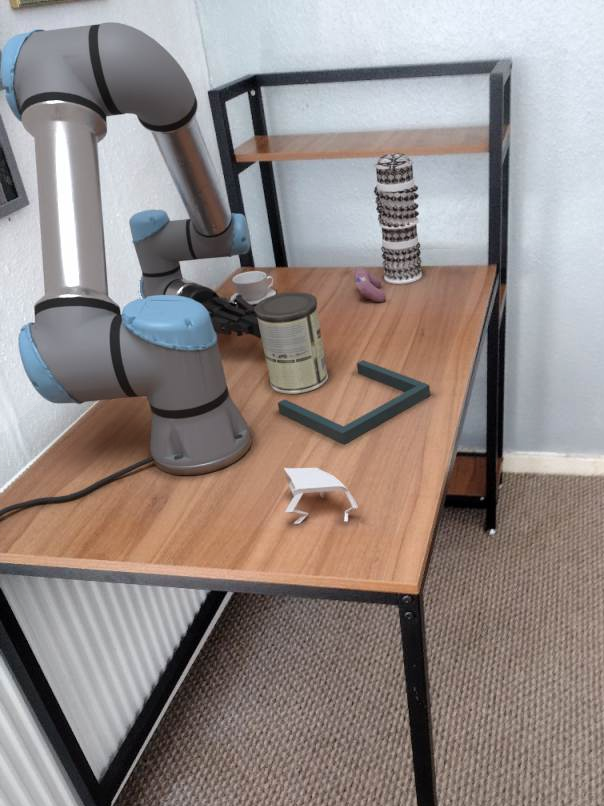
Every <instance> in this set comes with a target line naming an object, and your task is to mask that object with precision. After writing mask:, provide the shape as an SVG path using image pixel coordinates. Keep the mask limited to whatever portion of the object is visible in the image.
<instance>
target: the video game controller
mask: <svg viewBox="0 0 604 806" xmlns="http://www.w3.org/2000/svg"><path fill="white" fill-rule="evenodd" d="M352 274H353V275H354V277H353V281H354V283H355V285H356V287H357V289H358V291H359V292H360V293H361V295H362V296H363V298H366V300H371V301H373V302H377V303H383V302H385V301H386V298H387V297H386V294H385V293H384V292H383V291H382V289H380V288H381V286H382V281H381V279H380V278H379V277H378V276H376V275H374V274H373V273H371V272H370V271H368V270H367V268H364V267H363V266H361V267H360V268H356V269H355V270H353V273H352Z"/></svg>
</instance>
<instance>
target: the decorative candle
mask: <svg viewBox="0 0 604 806" xmlns="http://www.w3.org/2000/svg"><path fill="white" fill-rule="evenodd" d="M414 163H415V162H414V161H413V160H412V159H410V158H409V156H408V155H407V154H406V153H400V152H399V153H398V152H397V153H396V152H395V153H387V154H384V155H382V156H380V157H379V158H378V161H377V163H375V164H374V166H373V167H374V168H375V171H376V186H375V187H374V190H373V193H374V195H375V196H376V197H375V204H376V208H375V209H376V211H377V213H378V217H377V221H378V223H379V224H378V225H379V227H380V228H381V236H382V237H381V245H382V246H381V247H380V250H381V252H382V254H381V257H382V260H383V261H382V264H381V265H382V267H383V269H382V272H383V274H384V276H383V277H384V278H383V279H384V281H385V282H387V283H390V284H393V285H394V284H395V285H404V284H410V283H414V282H416V281H418V280H420V279H421V278H422V277H423V274H422V269H423V267H422V262H423V261H422V259H421V254H422V252H421V249H420V248H421V244H420V242H419V233H418V228H417V227H418V225H417V224H418V223H419V218H418V216H419V215H420V212H419V211H417V209H418V208H419V204H418V203H416V202H415V201H416V200H417V199H418V198H419V194H418V193H416V192H417V191H419V186H418V185H416V184H415V177H414V169H413V165H414Z"/></svg>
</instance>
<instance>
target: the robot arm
mask: <svg viewBox="0 0 604 806" xmlns="http://www.w3.org/2000/svg"><path fill="white" fill-rule="evenodd" d="M0 57H1V58H0V78H1V82H2V83H1V85H2V87H3V88H4V90H5V93H4V96H5V100H6V102H7V104H8V107H9V108H10V109H9V110H10V111H11V112H12V114H13V116H14V117H15V118H16V119H17V120H18V121H19V122H21V124H22V126H23V129H24V130H25V131H26V132H27V133H28V134H29V135H30V136H32V137H33V139H34V141H33V142H34V153H35V154H34V155H35V168H36V170H35V171H36V185H37V199H38V200H37V201H38V212H39V213H38V215H39V227H40V229H39V230H40V243H41V244H40V245H41V257H42V273H43V286H44V288H43V289H44V295H43V296H41V298H40V299H38V300H37V301H36V302H35V304H34V305H33V310H34V311H33V312H34V322H28V323H27V324H24V325H22V327H21V328H20V332H19V333H18V340H17V341H18V343H17V344H18V350H19V351H18V352H19V355H20V360H21V364H22V366H23V369H24V371H25V374H26V376H27V378H28V380H29V382H30V383H31V385H32V387H33V388H34V389H35V391H36V393H38V395H40V396H41V397H42V398H43V399H44V400H46V401H48V402H50V403H52V404H57V405H58V404H59V405H60V404H77V405H81V404H84V403H88V402H97V401H99V402H100V401H107V400H116V399H117V400H118V399H126V398H127V399H128V398H137V397H146V400H147V401H148V404H149V405H148V406H149V408H150V411H151V425H150V440H149V441H150V442H149V443H150V444H149V446H150V454H151V456H148V457H147V458H144V459H142V460H140V461H138V462H136V463H134V464H131V465H129V466H126V467H125V468H123V469H121V470H119V471H116V472H114V473H112V474H110V475H108V476H105V477H104V478H102V479H100V480H98V481H96V482H95V483H93V484H91V485H89V486H87V487H85V488H83V489H81V490H79V491H76V492H73V493H71V494H70V493H69V494H67V495H61V496H49V497H48V496H47V497H39V498H35V499H30V500H26V501H23V502H19V503H15V504H12V505H9V506H5V507H4V508H2V509H0V518H1V517H2V516H4V515H5V514H8V513H10V512H12V511H15V510H19V509H23V508H26V507H30V506H34V505H38V504H47V503H59V502H65V501H66V502H67V501H71V500H74V499H77V498H79V497H82V496H84V495H86V494H88V493H90V492H92V491H94V490H95V489H98V488H99V487H102V486H103V485H105V484H107V483H109V482H111V481H113V480H115V479H117V478H120V477H122V476H123V475H125V474H128V473H130V472H132V471H134V470H137V469H138V468H141V467H143V466H145V465H147V464H149V463H154V465H155V466H156V467H157V469H159V470H161V471H163V472H165V473H167V474H172V475H176V476H177V475H178V476H195V475H203V474H207V473H212V472H215V471H219V470H221V469H223V468H226V467H229V466H230V465H232V464H233V463H236V462H237V461H239V459H241V458H242V457H244V455H246V453H247V452H248V451H249V450H250V449H251V446H252V442H253V438H252V432H251V429H250V426H249V424H248V423H247V421H246V419H245V418H244V416H243V415H242V412H240V409H239V408H238V407H237V405H236V403H235V401H233V398H231V396H230V392H229V388H228V384H227V379H226V376H225V375H226V374H225V370H224V365H223V361H222V357H221V353H220V352H221V351H220V348H219V344H218V334H219V335H224V336H230V335H232V334H233V332H234V333H235V334H236V337H242V336H243V335H244V334H245V335H251V336H253V337H256V338H258V339H261V334H260V329H259V324H258V319H257V315H256V313H255V306H253V304H249V303H248V302H246V301H245V300H244V299H243V298H242V295H236V298H234V299H233V300H230V299H229V298H228V297H221V296H220V295H219V294H218V293H216V291H215V290H213V289H212V288H210V287H208V286H205V285H202V284H199V283H197V282H194V281H192V280H188V279H185V278H184V277H183V274H182V273H183V272H182V269H181V264H180V262H189V261H196V260H197V261H198V260H206V259H218V258H227V257H228V258H231V257H234V256H240V255H245V254H247V253H249V251H250V249H251V235H250V229H249V228H250V227H249V224H248V221H247V220H248V219H247V218H246V216H245V215H244V214H243V213H234V212H231V209H230V206H229V204H228V201H227V198H226V195H225V193H224V190H223V187H222V184H221V182H220V178H219V176H218V173H217V171H216V168H215V165H214V163H213V159H212V156H211V154H210V152H209V149H208V146H207V143H206V141H205V137H204V135H203V131H202V129H201V126H200V123H199V121H198V117H197V112H198V107H199V104H198V99H197V97H196V93H195V91H194V88H193V85H192V82H191V81H190V79H189V77H188V75H187V74H186V72H185V70H184V69H183V67H181V65H180V64H179V62H178V61H177V59H175V57H174V56H173V55H172V54H171V53H170V52H169V51H168V50H167V49H166V48H165V47H164V46H163V45H162V44H160V43H159V42H158V41H157V40H156V39H154V37H151V36H149V35H148V34H147V33H145V32H144V31H142V30H140V29H138V28H136V27H134V26H131V25H128V24H125V23H121V22H115V21H114V22H109V21H108V22H102V23H97V24H89V25H80V26H74V27H73V26H72V27H64V28H58V29H57V28H56V29H48V30H45V29H37V28H36V29H32V30H30V31H29V32H23V33H17V34H15V35H14V36H12V37H9V39H8V40H7V41H6V43H5V44H4V46H3V49H2V52H1V56H0ZM125 114H131V115H136V116H137V119H138V122H139V123H140V124H141V126H142V127H143V128H144V129H146V130H148V131H149V132H151V135H152V138H153V139H154V141H155V144H156V146H157V149H158V151H159V153H160V155H161V157H162V159H163V162H164V164H165V167H166V168H167V171H168V173H169V175H170V177H171V180H172V182H173V184H174V186H175V188H176V191H177V193H178V195H179V197H180V199H181V202H182V205H183V207H184V209H185V211H186V213H187V215H188V217H189V218H185V219H176V220H171V218H170V217H169V215H168V213H167V211H165V210H163V209H146V210H142V211H139V212H136V213H134V214H133V215H131V217H130V218H129V221H128V224H129V229H130V233H131V238H132V242H131V243H132V245H133V246H134V250H135V254H136V257H137V260H138V263H139V268H140V270H141V273H142V274H141V277H140V278H141V280H140V279H139V281H140V293H141V296H142V298H143V299H141V298H137V299H135V300H132V301H129V302H128V303H127V304H126V305H125V306H123V308H122V310H121V307H120V305H119V304H118V303H117V302H115V301H114V300H113V299H112V298H111V297H110V296H109V286H108V285H109V284H108V272H107V271H108V270H107V269H108V268H107V258H106V257H107V255H106V243H105V229H104V214H103V202H102V186H101V173H100V172H101V171H100V159H99V147H98V145H99V143H100V142H102V140H104V138H105V137H106V136H107V134H108V123H107V121H108V120H107V117H112V116H120V115H125ZM121 311H122V312H121Z"/></svg>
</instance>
